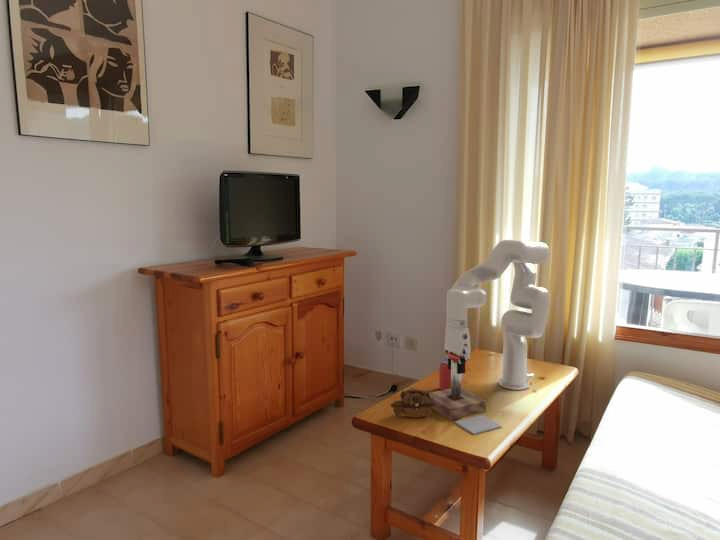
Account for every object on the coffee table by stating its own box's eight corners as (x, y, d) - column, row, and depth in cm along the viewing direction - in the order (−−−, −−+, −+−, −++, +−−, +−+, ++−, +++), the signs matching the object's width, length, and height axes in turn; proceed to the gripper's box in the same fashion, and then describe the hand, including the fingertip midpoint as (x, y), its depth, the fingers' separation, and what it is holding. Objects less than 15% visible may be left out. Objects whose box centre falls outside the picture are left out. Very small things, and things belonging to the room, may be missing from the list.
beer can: (455, 393, 206) (455, 364, 205) (438, 392, 208) (439, 363, 206) (455, 387, 213) (456, 359, 211) (439, 386, 214) (439, 358, 212)
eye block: (459, 396, 203) (459, 386, 203) (485, 411, 189) (486, 401, 188) (425, 403, 196) (425, 393, 196) (450, 419, 182) (450, 409, 181)
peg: (458, 388, 197) (458, 350, 194) (469, 394, 191) (469, 355, 188) (443, 391, 194) (443, 352, 191) (454, 398, 188) (454, 358, 185)
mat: (482, 416, 184) (482, 415, 184) (501, 427, 176) (501, 426, 176) (455, 423, 179) (455, 421, 179) (473, 434, 170) (473, 433, 170)
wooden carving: (391, 420, 182) (392, 393, 180) (390, 415, 186) (390, 388, 185) (437, 418, 183) (438, 391, 182) (435, 413, 188) (435, 387, 186)
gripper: (480, 327, 182) (479, 376, 185) (451, 316, 197) (451, 362, 200) (463, 329, 179) (462, 380, 182) (435, 319, 194) (434, 365, 197)
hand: (456, 370), depth 191 cm, fingers closed on peg, 4 cm apart
